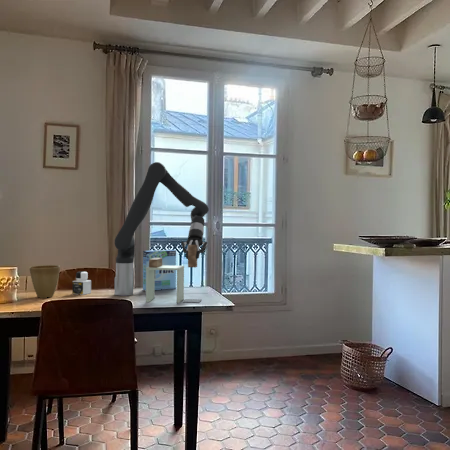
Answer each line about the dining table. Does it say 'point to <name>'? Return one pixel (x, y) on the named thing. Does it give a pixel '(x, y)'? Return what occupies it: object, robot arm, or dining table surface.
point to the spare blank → (155, 262)
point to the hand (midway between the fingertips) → (192, 258)
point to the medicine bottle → (81, 284)
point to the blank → (192, 256)
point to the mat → (192, 300)
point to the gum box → (162, 277)
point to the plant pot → (45, 279)
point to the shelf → (151, 281)
